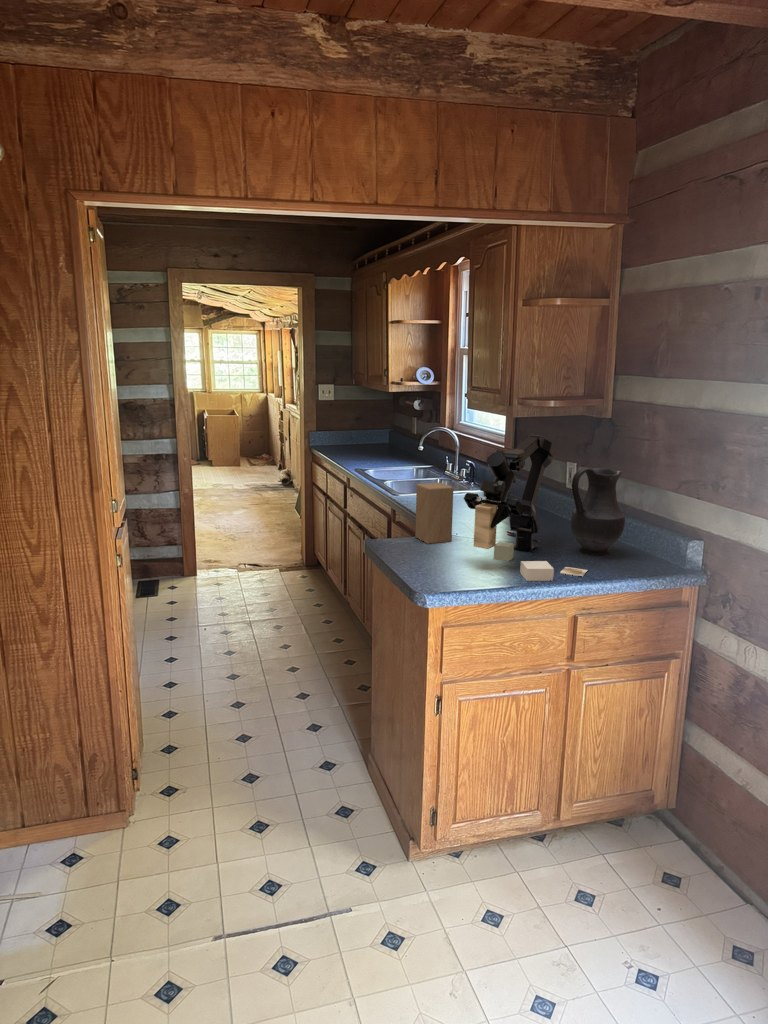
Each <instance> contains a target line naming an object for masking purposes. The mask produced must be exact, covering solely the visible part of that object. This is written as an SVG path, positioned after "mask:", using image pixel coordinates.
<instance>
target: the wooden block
mask: <svg viewBox="0 0 768 1024" xmlns="http://www.w3.org/2000/svg"><path fill="white" fill-rule="evenodd" d="M415 491H416V497H415V498H416V499H415V501H416V502H415V534H414V535H415V539H417V538H420V539H421V540H422V541H421V540H420V541H421V542H423V541H424V542H423V543H425V544H426V545H429V544H430V543H431V544H440V543H441V544H442V543H449V542H450V543H451V542H452V538H453V536H452V535H453V515H454V514H453V511H454V510H453V508H454V507H453V506H454V486H452V485H448V484H446V483H442V482H429V483H417V484H416V490H415Z"/></svg>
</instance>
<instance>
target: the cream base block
mask: <svg viewBox="0 0 768 1024" xmlns="http://www.w3.org/2000/svg"><path fill="white" fill-rule="evenodd" d="M519 566H520V568H519V573H520V575H521V576H522V577H523V578H524V580H525V581H526V582H527V581H528V582H534V581H535V582H540V581H542V582H547V581H550V580H551V581H554V575H555V572H554V571H555V568H554V567H553V566H552V565H551V564H550V563H549V562H548V561H547V560H532V561H531V560H526V561H525V560H521V561H520V565H519ZM551 581H550V582H551Z"/></svg>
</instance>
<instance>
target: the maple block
mask: <svg viewBox="0 0 768 1024" xmlns="http://www.w3.org/2000/svg"><path fill="white" fill-rule="evenodd" d="M497 509H498V505H492V504H486V503H482V504H479V505H477V506H475V509H474V510H475V512H474V528H473V530H474V531H473V532H474V533H473V547H474V548H478V549H479V548H480V549H485V550H490V549H492V548H494V546H496V543H497V542H496V541H497V525H498V524H497V525H496V526H495V527H494V528H491V523H492V521H493V519H494V517H495V514H496V512H497Z"/></svg>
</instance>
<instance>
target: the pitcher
mask: <svg viewBox="0 0 768 1024" xmlns="http://www.w3.org/2000/svg"><path fill="white" fill-rule="evenodd" d="M584 474H586V476H587V482H588V488H587V491H586V492H585V495H584V496H583V499H582V498H581V494H580V490H579V485H580V484H579V483H580V479H581V477H582V476H583V475H584ZM622 474H623V473H622V471H621V470H614V469H611V468H606V467H598V468H597V467H594V468H592V467H587V466H586V467H585V466H584V467H581V468H579V469H578V470H577V471H575V473H574V475H573V477H572V480H571V492H572V498H573V501H574V505H575V508H574V509H573V510H572V512H571V517H570V528H571V532H572V534H573V537H574V538H575V540H576V541H577V542H578V543H579V545H581V548H580V549H579V552H580V553H581V554H582V553H583V555H585V554H587V555H586V556H588V555H593V556H592V557H597V556H602V557H607V556H609V555H610V553H611V552H610V551H609V548H610V547H611V546H613V545H614V544H615V543H616V542H617V541H618V540H620V538H621V537H622V534H623V532H624V530H625V523H626V516H625V514H624V513H623V512H622V511H621V508H620V507H619V503H618V498H617V483H618V480H619V479H620V476H621V475H622ZM606 555H607V556H606Z"/></svg>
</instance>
